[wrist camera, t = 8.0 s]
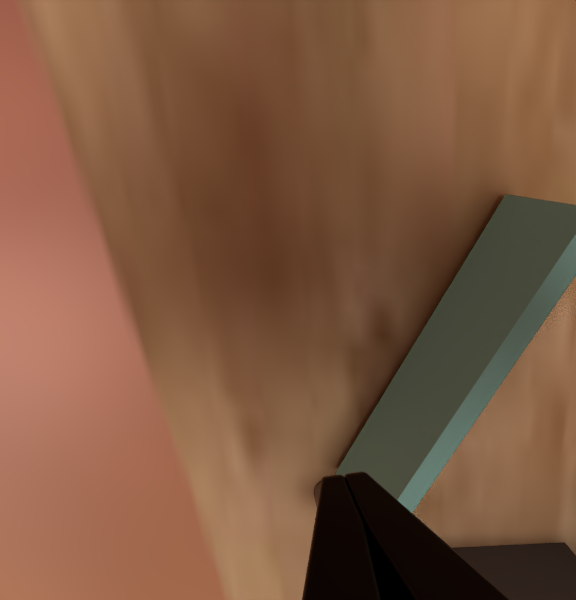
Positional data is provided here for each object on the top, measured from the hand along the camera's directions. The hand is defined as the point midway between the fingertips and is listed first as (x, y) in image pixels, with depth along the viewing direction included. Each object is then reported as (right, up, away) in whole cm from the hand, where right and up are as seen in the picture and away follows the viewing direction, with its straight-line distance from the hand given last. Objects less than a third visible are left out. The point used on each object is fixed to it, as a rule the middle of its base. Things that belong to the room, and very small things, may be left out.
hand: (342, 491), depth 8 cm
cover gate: (+4, +2, +9) cm, 10 cm away
